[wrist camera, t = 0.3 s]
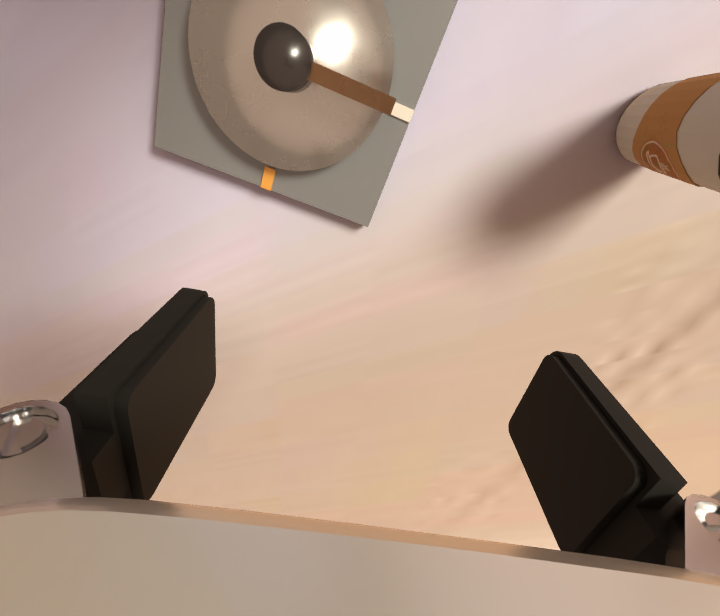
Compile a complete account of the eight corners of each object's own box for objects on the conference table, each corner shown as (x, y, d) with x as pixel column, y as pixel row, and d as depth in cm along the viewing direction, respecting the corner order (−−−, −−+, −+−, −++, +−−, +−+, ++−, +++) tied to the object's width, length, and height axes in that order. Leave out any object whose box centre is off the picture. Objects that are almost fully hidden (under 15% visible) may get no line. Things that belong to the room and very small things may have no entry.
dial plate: (190, -175, 24) (178, -194, 22) (467, -30, 27) (473, -38, 26) (162, 144, 34) (152, 146, 32) (367, 222, 37) (367, 227, 36)
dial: (183, 128, 32) (155, 132, 27) (211, -120, 24) (179, -166, 20) (357, 196, 34) (356, 209, 30) (432, -8, 27) (444, -29, 22)
